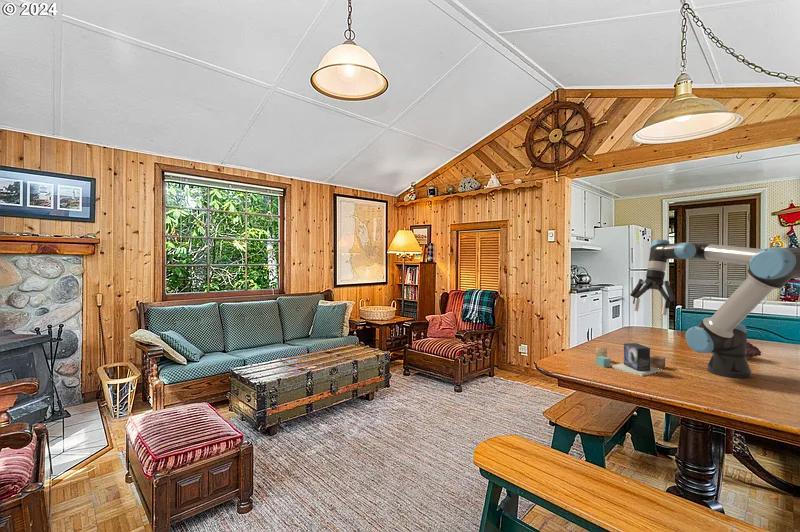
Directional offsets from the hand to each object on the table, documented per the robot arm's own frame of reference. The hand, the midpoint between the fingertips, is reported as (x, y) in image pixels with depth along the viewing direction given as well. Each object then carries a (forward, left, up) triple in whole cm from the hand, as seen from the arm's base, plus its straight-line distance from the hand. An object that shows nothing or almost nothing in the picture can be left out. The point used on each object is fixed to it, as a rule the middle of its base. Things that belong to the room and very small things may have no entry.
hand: (649, 312), depth 189 cm
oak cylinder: (+14, +16, -25) cm, 33 cm away
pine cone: (-16, -51, -26) cm, 59 cm away
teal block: (+8, +23, -25) cm, 35 cm away
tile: (-4, +16, -25) cm, 30 cm away
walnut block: (-6, +3, -25) cm, 26 cm away
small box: (-4, +16, -24) cm, 29 cm away
